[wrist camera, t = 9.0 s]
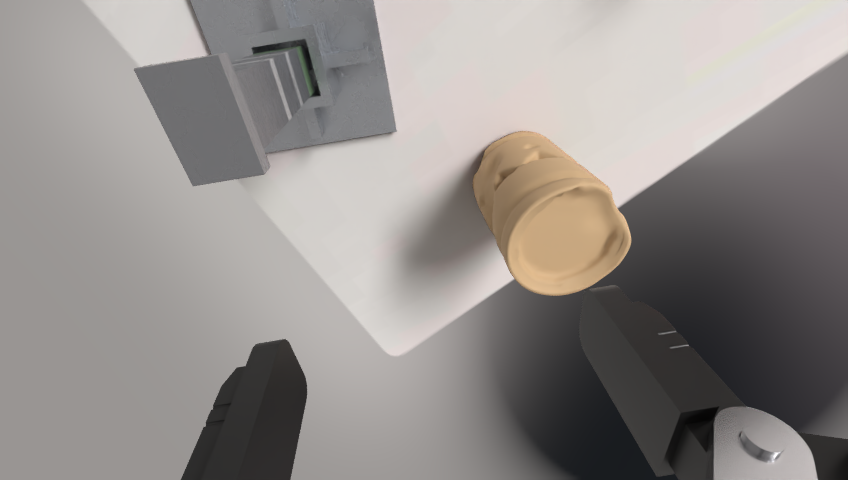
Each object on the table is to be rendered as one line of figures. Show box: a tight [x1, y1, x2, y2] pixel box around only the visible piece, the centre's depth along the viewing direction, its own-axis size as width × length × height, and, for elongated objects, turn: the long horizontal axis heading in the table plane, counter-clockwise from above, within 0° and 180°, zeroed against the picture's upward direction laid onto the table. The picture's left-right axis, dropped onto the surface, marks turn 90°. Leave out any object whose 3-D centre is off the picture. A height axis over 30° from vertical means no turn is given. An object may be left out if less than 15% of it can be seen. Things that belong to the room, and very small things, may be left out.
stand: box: [190, 0, 397, 153], centre depth 38 cm, size 18×18×9 cm
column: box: [134, 45, 315, 186], centre depth 28 cm, size 6×4×20 cm, turn 8°
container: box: [473, 131, 631, 296], centre depth 44 cm, size 13×13×18 cm
